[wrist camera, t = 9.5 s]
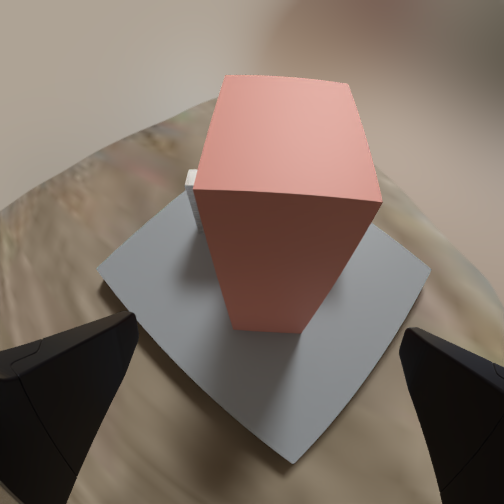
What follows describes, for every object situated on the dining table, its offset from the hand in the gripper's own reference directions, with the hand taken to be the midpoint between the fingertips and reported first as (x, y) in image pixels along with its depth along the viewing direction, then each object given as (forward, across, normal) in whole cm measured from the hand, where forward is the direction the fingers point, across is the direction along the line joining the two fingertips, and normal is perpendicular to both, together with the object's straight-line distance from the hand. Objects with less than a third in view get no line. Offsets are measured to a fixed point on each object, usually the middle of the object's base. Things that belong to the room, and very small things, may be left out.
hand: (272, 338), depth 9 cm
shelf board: (+11, 0, +2) cm, 11 cm away
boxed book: (+9, 0, +2) cm, 9 cm away
